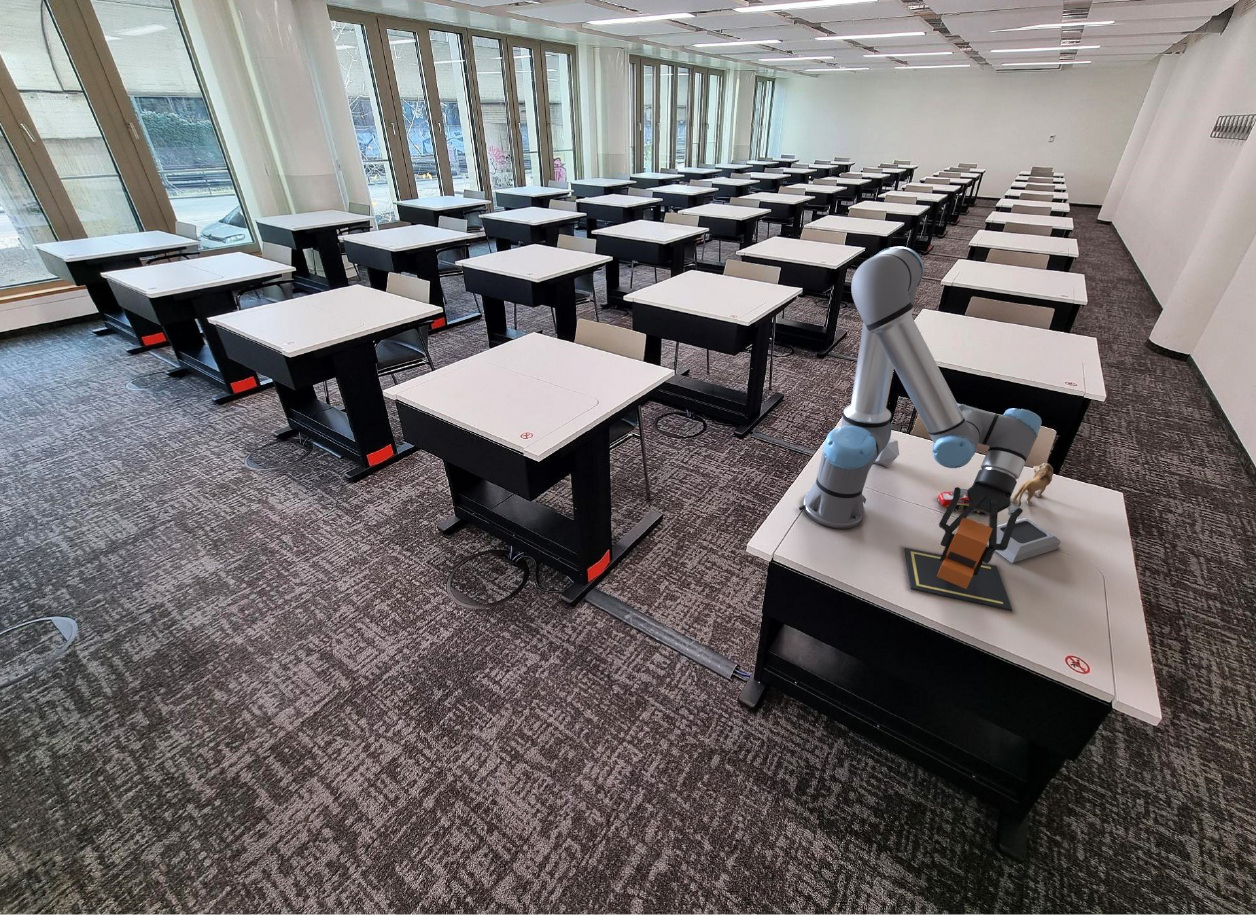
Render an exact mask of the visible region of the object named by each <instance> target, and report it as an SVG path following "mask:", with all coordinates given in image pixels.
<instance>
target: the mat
mask: <svg viewBox="0 0 1256 915" xmlns="http://www.w3.org/2000/svg"><path fill="white" fill-rule="evenodd" d="M903 548H904V554H905V560H906V567H907V573H908V574H907V575H908V579H909V586H910V590H912V591H913V590H914V591H917V592H921V593H927V594H932V595H937V596H942V597H946V598H950V599H954V600H959V601H965V602H969V603H972V604H973V603H974V604H977V605H978V604H979V605H983V606H987V607H992V608H997V609H1001V610H1005V611H1011V612H1012V611H1013V608H1012V604H1011V602H1010V600H1009V597H1008V593H1007V590H1006V589H1005V586H1004V582H1003V580H1002V577H1001V575H1000V572H999V569H998V566H997V565H995V564H990V563H985V562H983V563H982V565H981V567H980V570H979V572H978V574H977V575H973V576H972V578H971V580H970V582H969V585H968V587H967V589H964V588H962V587H960V586H958V585H955V584H953V583H951V582H948V581H946V580H944V579H941V578H938V577H937V574H938V572H939V570H940V568H941V565H942V563H943V562H941V561H939V560H940V558H941V556H942V554H939V553H936V552H935V553H934V552H931V551H930V552H929V551H925V550H919V549H913V548H908V547H903Z"/></svg>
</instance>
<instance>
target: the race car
mask: <svg viewBox="0 0 1256 915" xmlns="http://www.w3.org/2000/svg"><path fill="white" fill-rule="evenodd" d="M953 493H954V491H942V492H940V493H939V494H938V495H937V498H936V500H937V503H938V504H939V505H940V506H941V507H942V508H944V509H945V510H947V508H948V506H949V504H950V502H951V501H952V499H953ZM969 505H970V501H969V498H968V495H964V497H963V498H959V501H958V503H957V505H956V507H955V509H954V510H953V512H954V511H959V512H960V511H961V512H963V511H964V510H965V509H966V508H967V507H968V506H969ZM972 513H975V514H976V513H978V514H981V515H983V516H984V515H986V514H985V513H984V512H981V511H976V510H974V511H973V512H972Z"/></svg>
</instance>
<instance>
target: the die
mask: <svg viewBox="0 0 1256 915" xmlns="http://www.w3.org/2000/svg"><path fill="white" fill-rule="evenodd" d="M899 456H900V449H899V441H898V440H897V439H893V438H891V437H890V440H889V442H888V444H887V446H886V447H885V448H884V449H883V450H882V451H881V453H880V454H879V456H878V457H877V459H876V460H875V462H874V463H873V464H877V465H880V466H882V467H883V466H884V467H887V468H889V466H891V465H892V463H893V462H895V460H896V459H897V458H898V457H899Z"/></svg>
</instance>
